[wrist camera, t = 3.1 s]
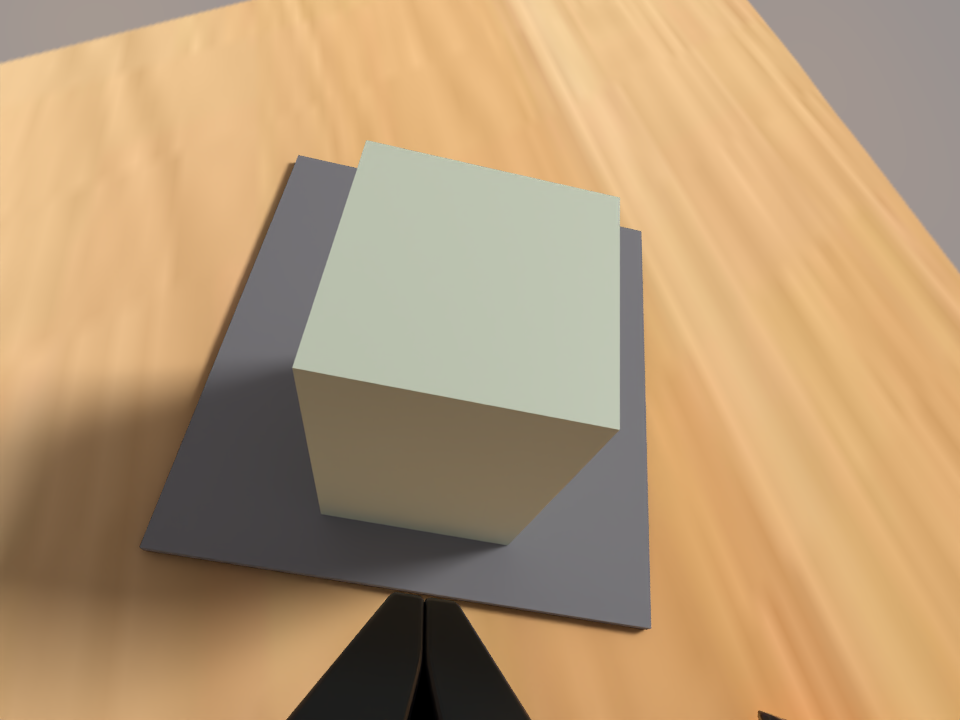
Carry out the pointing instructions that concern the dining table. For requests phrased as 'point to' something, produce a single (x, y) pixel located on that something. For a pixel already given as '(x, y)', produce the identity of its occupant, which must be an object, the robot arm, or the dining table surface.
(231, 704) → the dining table surface
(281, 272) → the rubber mat
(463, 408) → the sage block
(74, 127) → the dining table surface
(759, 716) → the shard
